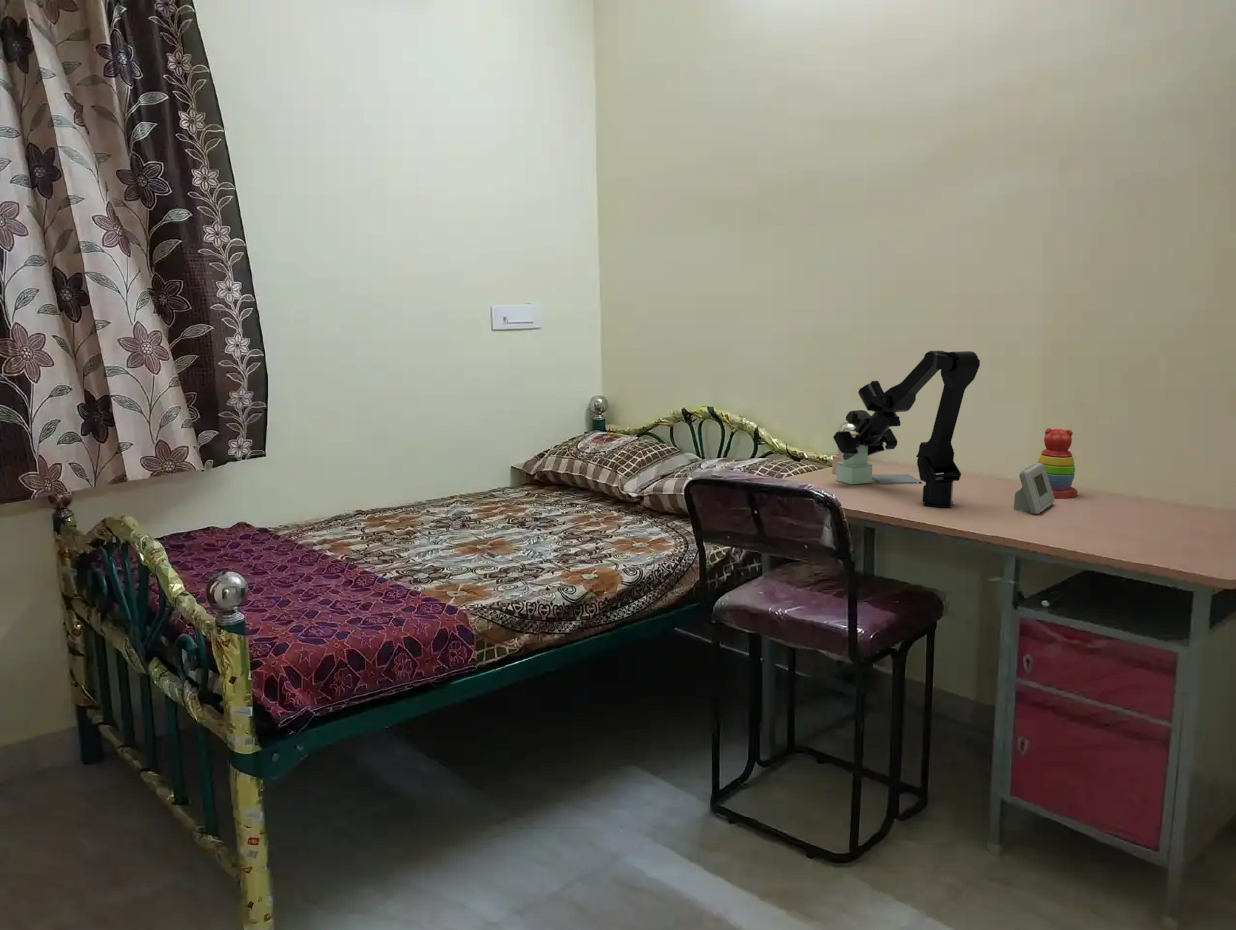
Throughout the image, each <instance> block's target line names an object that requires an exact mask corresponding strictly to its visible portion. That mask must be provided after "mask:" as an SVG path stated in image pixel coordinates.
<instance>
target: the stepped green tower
mask: <svg viewBox="0 0 1236 930" xmlns="http://www.w3.org/2000/svg"><path fill="white" fill-rule="evenodd" d="M857 451H858V453H857V454H855V455H854V456H852V457H850V458H848V459H846V460H844V459H843V454H844V453H842V462H838V463H837V474H836V479H835V480H836V481H838V482H841V483H844V484H847V485H848V484H849V485H858V484H869V483H870V484H871V483H872V481H873V479H872V475H873V464H871V463H868V446H865V445H861V446H859V447H858V448H857Z"/></svg>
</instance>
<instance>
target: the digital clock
mask: <svg viewBox="0 0 1236 930" xmlns="http://www.w3.org/2000/svg"><path fill="white" fill-rule="evenodd" d="M1018 476H1019V479H1020V482H1021V488H1020V489H1018V490H1017V491H1015V494H1014V502H1013V510H1014V511H1019V510H1022V511H1021V512H1027V511H1030V512H1029V513H1031V514H1033V515H1039V514H1041V513H1040V512H1042V511H1043V510H1044V509H1046V508H1047V507H1048V508H1049V507H1051V505H1052V504H1054V503H1055V501H1056V500H1055V499H1056V498H1054V496H1053V492H1052V489H1051V486H1050V483H1049V480H1048V476H1047V473H1046V470H1045V467H1044V465H1043V464H1041V463H1038V462H1037V463H1033V464H1032V465H1029V466H1028V467H1026V468H1024V469H1023V471H1022V470H1021V472H1020V473H1019V475H1018ZM1048 508H1047V509H1048ZM1047 509H1046V510H1047ZM1044 511H1045V510H1044ZM1044 511H1043V512H1044ZM1043 512H1042V513H1043Z"/></svg>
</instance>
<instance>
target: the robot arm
mask: <svg viewBox="0 0 1236 930" xmlns="http://www.w3.org/2000/svg"><path fill="white" fill-rule="evenodd" d="M980 361H981V360H980V359H979V356H978V355H977V353H976V352H974V351H970V350H966V351H965V350H963V351H950V352H949V351H944V350H929V351H928V352H925V354H924V356H923V358H922V359H921V360H920V361H919V362H918V364H916V366H915V367H914V368H913V369H912V370H911V371H910V373H908V375H907V376H906V377H905V378H904V379H903V380H902V381H901V382H900V383H898V384H895V385H893V386H891V387H889V389H887V390H885V391H884V390H883V388H882V386H881V384H880V381H879V380H872V381H871V382H869V383H867V384H865V385H864V386H862V387H860V388H859V389H858V392H857V394H858V396H859V397H860V399H861V401H862V403H863V404H864V407H865V409H866V410H867V411H870V412H873V414H872V415H871V414H870V413H868V412H867V411H866V410H863V409H860V410H859V409H857V410H850V411H848V413H847V414H846V416H845V421H846V422H847V423H848V424H850V425H853V426H854V427H855V428H854V432H856V433H858V435H855V437H852V435H851V433H850V431H851V430H849V431H848V430H843V431H842V430H841V431H836V432H835V433H834V435H833V437H832V439H833V440H834V443H836V446H837V449H838V448H839V450H840V452H842V453H844V454H843V459H844V460H846V459H848V458H850V457H852V456H854V455H855V454H857V453H858V451H857V448H858V447H859V446H861V445H865V446H868V456H872V455H874V454H878V453H880V452H883V451H885V450H886V451H887V450H895V448H896V447H897V446H898V439H897V438H896V435H894V432H893V431H892V428H891V427H893V428H894V427H901V425H902V423H901V420H900V416H899V415H898V414H897V413H905V412H909V411H910V409H911V408H912V407H913V406H914V404H915V402H916V400H917V399H916V398H917V394H918V393H919V392H920V390H921V389H923V387H924V386H926V384H927V383H928V382H929V381H930V380H931V379H932V378H933V377H934V376H935V375H936V374H937V373H938V372H939V370H940V376H941V379H942V382H943V389H942V392H941V397H940V400H939V404H938V408H937V412H936V416H935V419H934V423H933V424H934V425H933V427H932V432H931V436H930V438H929V439H928V441H924V442H923V441H922V442H920V444H919V446H918V452H917V454H916V458H917V459H916V460H917V462H916V465H917V469H918V476H919V478H920V481H922V482H923V483H925V484H924V485H923V487H922V502H923V503H922V504H923V506H928V507H938V508H951V507H952V506H953V504H954V501H953V494H954V493H953V492H954V491H953V490H954V482H955V481H957V482H959V481H960V479H961V476H962V473H961V471H960V469H959V468H958V465H957V464H956V463H955V461H954V460H955V459H954V458H955V451H954V448H953V445H952V440H953V437H954V434H955V433H954V432H955V428H956V425H957V421H958V417H959V414H960V409H961V405H962V402H963V397H964V394H965V391H966V389H967V388H968V387H969V386H970V384H971V383H972V382H974V380H975V378H976V375H977V373H978V371H979V369H980V365H981V363H980ZM884 444H885V446H884Z"/></svg>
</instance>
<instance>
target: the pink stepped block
mask: <svg viewBox="0 0 1236 930" xmlns="http://www.w3.org/2000/svg"><path fill="white" fill-rule="evenodd" d="M849 431H850V433H851V435H852V437H855V435H858V433H856V431H855V430H849ZM838 462H842V452H840V450H839V448H838V447H837V455H832V465H831V466H832V467H831V468H832V471H831V473H832V474H834V475H835V474H836V475H837V463H838Z"/></svg>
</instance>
